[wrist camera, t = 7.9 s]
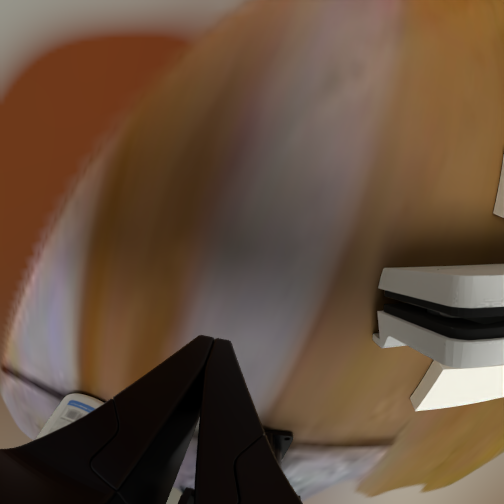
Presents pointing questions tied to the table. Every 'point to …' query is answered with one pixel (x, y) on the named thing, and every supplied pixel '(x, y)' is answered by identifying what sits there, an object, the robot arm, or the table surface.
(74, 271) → the table surface
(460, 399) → the white flat open rectangle
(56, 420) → the supplement tub
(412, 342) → the white rounded block
